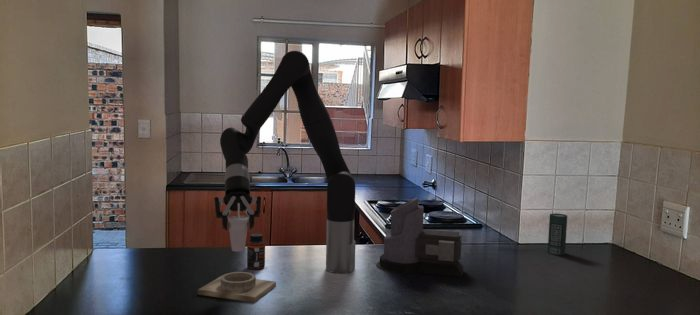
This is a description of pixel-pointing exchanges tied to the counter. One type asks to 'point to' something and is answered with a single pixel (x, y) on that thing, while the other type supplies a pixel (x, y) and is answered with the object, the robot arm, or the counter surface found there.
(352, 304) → the counter surface
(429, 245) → the juicer
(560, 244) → the can
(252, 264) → the supplement bottle
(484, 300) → the counter surface
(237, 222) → the smoothie
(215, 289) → the socket board
